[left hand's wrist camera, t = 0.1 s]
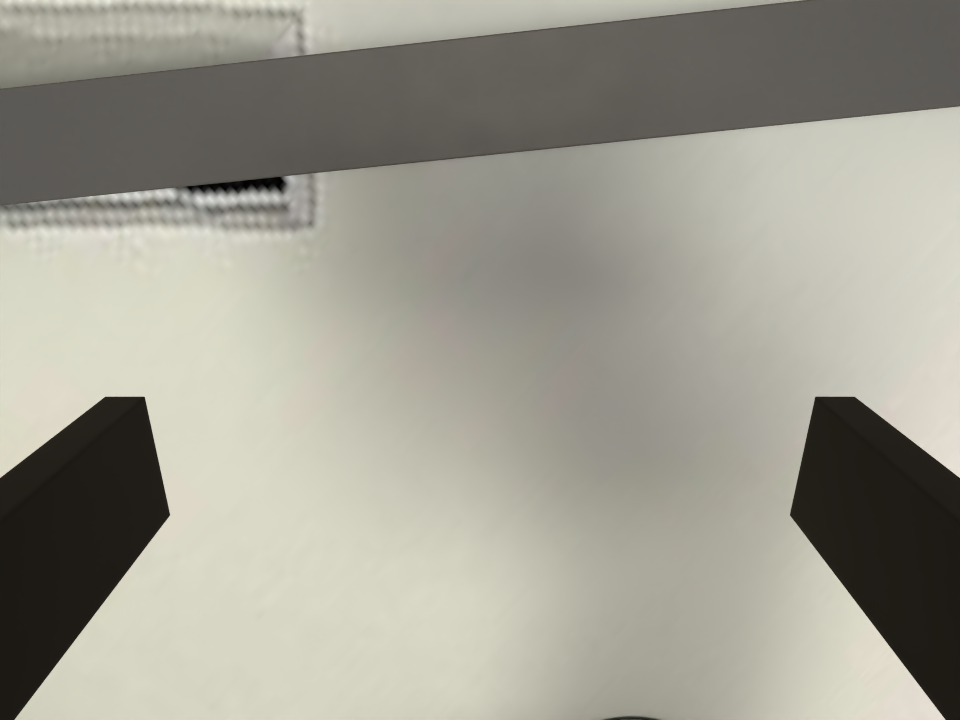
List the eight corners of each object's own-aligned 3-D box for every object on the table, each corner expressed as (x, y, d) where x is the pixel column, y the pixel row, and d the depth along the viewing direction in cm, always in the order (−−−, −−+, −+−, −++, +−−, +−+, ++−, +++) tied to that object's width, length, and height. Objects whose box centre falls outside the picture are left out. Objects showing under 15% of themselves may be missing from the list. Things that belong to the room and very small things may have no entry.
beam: (1156, -23, 34) (1355, -61, 26) (1131, 78, 36) (1309, 70, 28) (-329, 140, 37) (-541, 148, 29) (-283, 225, 39) (-472, 254, 31)
